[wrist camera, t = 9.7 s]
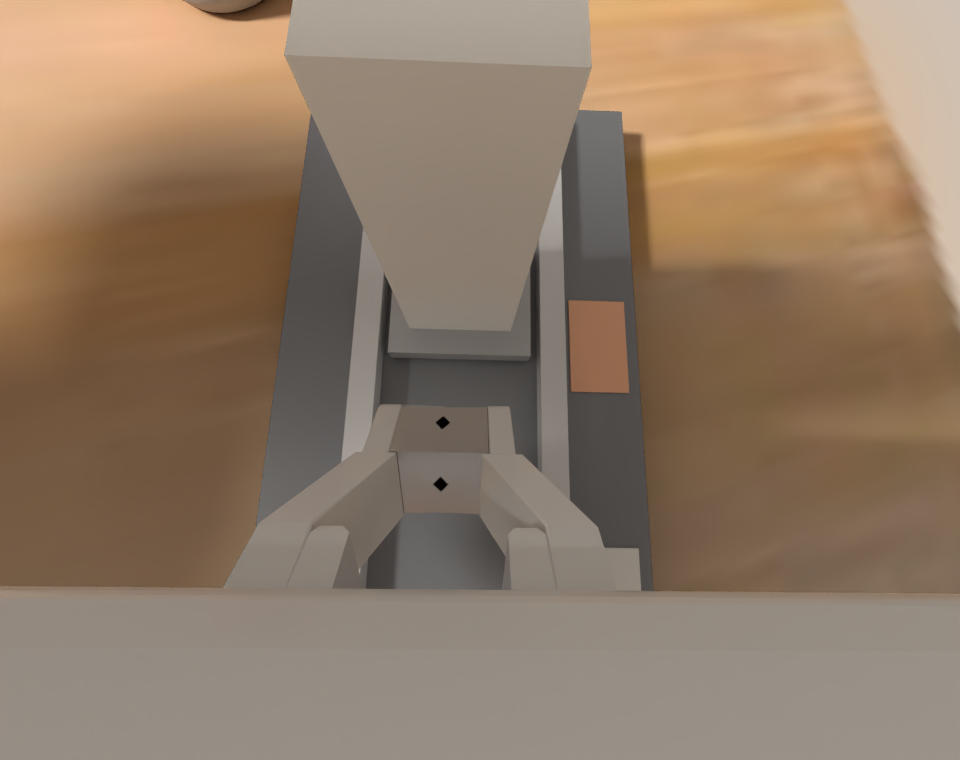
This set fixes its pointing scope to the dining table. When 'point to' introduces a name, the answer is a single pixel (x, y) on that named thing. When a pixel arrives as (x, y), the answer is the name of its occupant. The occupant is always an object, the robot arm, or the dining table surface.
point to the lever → (447, 150)
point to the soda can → (222, 5)
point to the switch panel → (473, 370)
